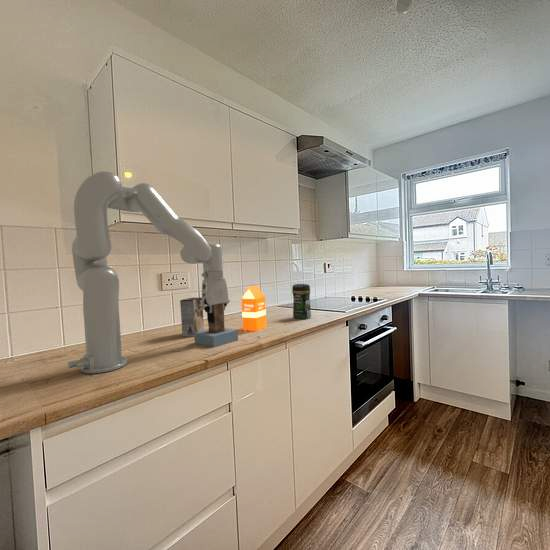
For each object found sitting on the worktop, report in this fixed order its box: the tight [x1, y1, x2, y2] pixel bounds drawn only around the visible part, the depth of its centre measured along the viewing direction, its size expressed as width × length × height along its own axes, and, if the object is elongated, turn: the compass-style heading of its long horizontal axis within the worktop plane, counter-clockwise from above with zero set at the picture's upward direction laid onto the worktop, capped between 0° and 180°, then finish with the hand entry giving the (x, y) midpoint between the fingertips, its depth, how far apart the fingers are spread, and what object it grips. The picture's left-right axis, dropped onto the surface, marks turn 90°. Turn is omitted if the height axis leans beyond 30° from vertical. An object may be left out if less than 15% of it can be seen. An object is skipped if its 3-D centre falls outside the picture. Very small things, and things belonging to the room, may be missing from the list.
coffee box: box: [179, 296, 205, 337], centre depth 134 cm, size 9×6×16 cm
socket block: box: [194, 327, 239, 348], centre depth 119 cm, size 12×12×4 cm
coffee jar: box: [291, 283, 312, 320], centre depth 163 cm, size 10×8×19 cm
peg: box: [207, 303, 226, 334], centre depth 119 cm, size 4×4×14 cm
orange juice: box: [241, 285, 267, 332], centre depth 140 cm, size 8×9×20 cm
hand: (216, 320), depth 119 cm, fingers closed on peg, 4 cm apart
